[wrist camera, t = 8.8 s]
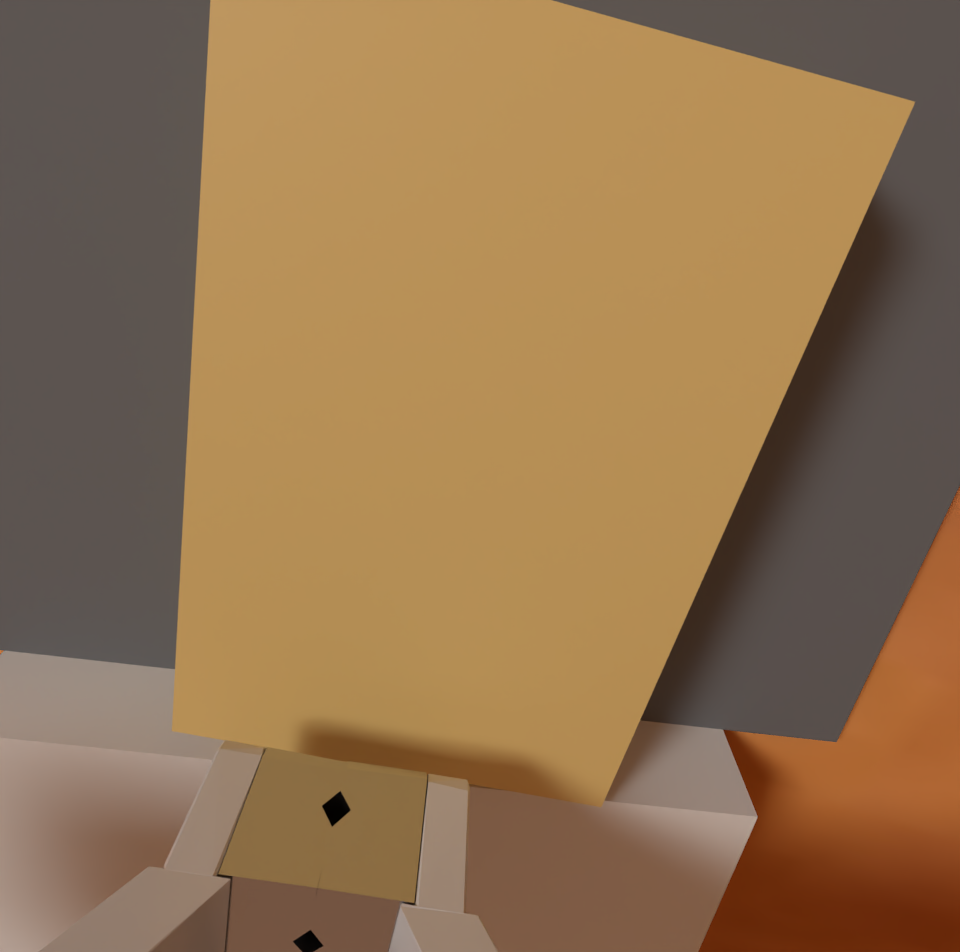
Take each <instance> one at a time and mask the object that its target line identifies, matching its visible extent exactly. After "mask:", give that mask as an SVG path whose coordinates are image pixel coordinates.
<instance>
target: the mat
mask: <svg viewBox="0 0 960 952" xmlns="http://www.w3.org/2000/svg"><path fill="white" fill-rule="evenodd" d="M553 1H556V2H560V3H564V4H567V5H571V6H574V7H578V8H581V9H585V10H589V11H592V12H596V13H599V14H603V15H606V16H610V17H614V18H617V19H621V20H624V21H628V22H632V23H635V24H639V25H642V26H646V27H649V28H653V29H657V30H660V31H664V32H667V33H671V34H674V35H678V36H682V37H685V38H689V39H692V40H696V41H700V42H703V43H707V44H710V45H714V46H717V47H721V48H725V49H728V50H732V51H735V52H739V53H743V54H746V55H750V56H753V57H757V58H760V59H764V60H768V61H771V62H775V63H778V64H782V65H785V66H789V67H793V68H796V69H800V70H803V71H807V72H811V73H814V74H818V75H821V76H825V77H828V78H832V79H836V80H839V81H843V82H846V83H850V84H853V85H857V86H861V87H864V88H868V89H871V90H875V91H879V92H882V93H886V94H889V95H893V96H896V97H900V98H904V99H907V100H911V101H914V102H915V104H914V106H913V108H912V110H911V113H910V115H909V117H908V119H907V122H906V124H905V126H904V128H903V131H902V133H901V135H900V137H899V140H898V142H897V144H896V146H895V149H894V151H893V153H892V155H891V158H890V160H889V162H888V164H887V167H886V169H885V171H884V173H883V176H882V178H881V180H880V182H879V185H878V187H877V189H876V191H875V194H874V196H873V198H872V200H871V203H870V205H869V207H868V209H867V212H866V214H865V216H864V218H863V221H862V223H861V225H860V227H859V230H858V232H857V234H856V236H855V239H854V241H853V243H852V245H851V248H850V250H849V252H848V254H847V256H846V259H845V261H844V263H843V265H842V268H841V270H840V272H839V274H838V277H837V279H836V281H835V283H834V286H833V288H832V290H831V292H830V295H829V297H828V299H827V301H826V304H825V306H824V308H823V310H822V313H821V315H820V317H819V319H818V322H817V324H816V326H815V328H814V331H813V333H812V335H811V337H810V340H809V342H808V344H807V346H806V349H805V351H804V353H803V355H802V358H801V360H800V362H799V364H798V367H797V369H796V371H795V373H794V376H793V378H792V380H791V382H790V385H789V387H788V389H787V391H786V394H785V396H784V398H783V400H782V403H781V405H780V407H779V409H778V412H777V414H776V416H775V418H774V420H773V423H772V425H771V427H770V429H769V432H768V434H767V436H766V438H765V441H764V443H763V445H762V447H761V450H760V452H759V454H758V456H757V459H756V461H755V463H754V465H753V468H752V470H751V472H750V474H749V477H748V479H747V481H746V483H745V486H744V488H743V490H742V492H741V495H740V497H739V499H738V501H737V504H736V506H735V508H734V510H733V513H732V515H731V517H730V519H729V522H728V524H727V526H726V528H725V531H724V533H723V535H722V537H721V540H720V542H719V544H718V546H717V549H716V551H715V553H714V555H713V558H712V560H711V562H710V564H709V567H708V569H707V571H706V573H705V575H704V578H703V580H702V582H701V584H700V587H699V589H698V591H697V593H696V596H695V598H694V600H693V602H692V605H691V607H690V609H689V611H688V614H687V616H686V618H685V620H684V623H683V625H682V627H681V629H680V632H679V634H678V636H677V638H676V641H675V643H674V645H673V647H672V650H671V652H670V654H669V656H668V659H667V661H666V663H665V665H664V668H663V670H662V672H661V674H660V677H659V679H658V681H657V683H656V686H655V688H654V690H653V692H652V695H651V697H650V699H649V701H648V704H647V706H646V708H645V710H644V713H643V715H642V717H641V719H640V720H641V721H650V722H659V723H668V724H677V725H686V726H695V727H704V728H713V729H723V730H732V731H741V732H750V733H759V734H768V735H777V736H786V737H795V738H804V739H813V740H823V741H832V742H837V740H838V738H839V736H840V734H841V731H842V729H843V727H844V725H845V723H846V721H847V719H848V717H849V715H850V713H851V711H852V709H853V707H854V704H855V702H856V700H857V698H858V696H859V694H860V692H861V690H862V688H863V686H864V684H865V682H866V679H867V677H868V675H869V673H870V671H871V669H872V667H873V665H874V663H875V661H876V659H877V657H878V654H879V652H880V650H881V648H882V646H883V644H884V642H885V640H886V638H887V636H888V634H889V632H890V629H891V627H892V625H893V623H894V621H895V619H896V617H897V615H898V613H899V611H900V609H901V607H902V605H903V602H904V600H905V598H906V596H907V594H908V592H909V590H910V588H911V586H912V584H913V582H914V580H915V577H916V575H917V573H918V571H919V569H920V567H921V565H922V563H923V561H924V559H925V557H926V555H927V552H928V550H929V548H930V546H931V544H932V542H933V540H934V538H935V536H936V534H937V532H938V530H939V528H940V525H941V523H942V521H943V519H944V517H945V515H946V513H947V511H948V509H949V507H950V505H951V503H952V500H953V498H954V496H955V494H956V492H957V490H958V488H959V486H960V0H553ZM209 18H210V0H0V650H4V651H13V652H22V653H31V654H40V655H50V656H59V657H68V658H77V659H86V660H95V661H104V662H113V663H122V664H131V665H141V666H150V667H159V668H168V669H175V660H176V641H177V623H178V604H179V585H180V566H181V547H182V528H183V509H184V490H185V471H186V453H187V434H188V415H189V396H190V377H191V358H192V339H193V320H194V301H195V282H196V264H197V245H198V226H199V207H200V188H201V169H202V150H203V131H204V112H205V93H206V75H207V56H208V37H209Z"/></svg>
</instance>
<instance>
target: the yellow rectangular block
mask: <svg viewBox="0 0 960 952" xmlns="http://www.w3.org/2000/svg"><path fill="white" fill-rule="evenodd" d="M914 104H915V102H914V101H911V100H907V99H904V98H900V97H896V96H893V95H889V94H886V93H882V92H879V91H875V90H871V89H868V88H864V87H861V86H857V85H853V84H850V83H846V82H843V81H839V80H836V79H832V78H828V77H825V76H821V75H818V74H814V73H811V72H807V71H803V70H800V69H796V68H793V67H789V66H785V65H782V64H778V63H775V62H771V61H768V60H764V59H760V58H757V57H753V56H750V55H746V54H743V53H739V52H735V51H732V50H728V49H725V48H721V47H717V46H714V45H710V44H707V43H703V42H700V41H696V40H692V39H689V38H685V37H682V36H678V35H674V34H671V33H667V32H664V31H660V30H657V29H653V28H649V27H646V26H642V25H639V24H635V23H632V22H628V21H624V20H621V19H617V18H614V17H610V16H606V15H603V14H599V13H596V12H592V11H589V10H585V9H581V8H578V7H574V6H571V5H567V4H564V3H560V2H556V1H553V0H210V18H209V37H208V56H207V75H206V93H205V112H204V131H203V150H202V169H201V188H200V207H199V226H198V245H197V264H196V282H195V301H194V320H193V339H192V358H191V377H190V396H189V415H188V434H187V453H186V471H185V490H184V509H183V528H182V547H181V566H180V585H179V604H178V623H177V641H176V660H175V679H174V698H173V717H172V731H174V732H180V733H186V734H191V735H197V736H203V737H208V738H214V739H219V740H229V741H235V742H240V743H246V744H251V745H257V746H263V747H270V748H275V749H281V750H286V751H291V752H296V753H302V754H307V755H312V756H317V757H323V758H328V759H333V760H338V761H344V762H348V761H352V762H359V763H366V764H372V765H379V766H386V767H393V768H399V769H406V770H413V771H419V772H426V774H427V775H428V774H434V775H440V776H447V777H453V778H459V779H465V780H467V781H468V783H469V784H473V785H479V786H484V787H490V788H496V789H501V790H507V791H513V792H518V793H524V794H529V795H535V796H541V797H546V798H552V799H558V800H563V801H569V802H575V803H580V804H586V805H591V806H597V807H602V805H603V802H604V800H605V798H606V796H607V793H608V791H609V789H610V787H611V784H612V782H613V780H614V778H615V775H616V773H617V771H618V769H619V766H620V764H621V762H622V760H623V757H624V755H625V753H626V751H627V748H628V746H629V744H630V742H631V739H632V737H633V735H634V733H635V731H636V728H637V726H638V724H639V722H640V719H641V717H642V715H643V713H644V710H645V708H646V706H647V704H648V701H649V699H650V697H651V695H652V692H653V690H654V688H655V686H656V683H657V681H658V679H659V677H660V674H661V672H662V670H663V668H664V665H665V663H666V661H667V659H668V656H669V654H670V652H671V650H672V647H673V645H674V643H675V641H676V638H677V636H678V634H679V632H680V629H681V627H682V625H683V623H684V620H685V618H686V616H687V614H688V611H689V609H690V607H691V605H692V602H693V600H694V598H695V596H696V593H697V591H698V589H699V587H700V584H701V582H702V580H703V578H704V575H705V573H706V571H707V569H708V567H709V564H710V562H711V560H712V558H713V555H714V553H715V551H716V549H717V546H718V544H719V542H720V540H721V537H722V535H723V533H724V531H725V528H726V526H727V524H728V522H729V519H730V517H731V515H732V513H733V510H734V508H735V506H736V504H737V501H738V499H739V497H740V495H741V492H742V490H743V488H744V486H745V483H746V481H747V479H748V477H749V474H750V472H751V470H752V468H753V465H754V463H755V461H756V459H757V456H758V454H759V452H760V450H761V447H762V445H763V443H764V441H765V438H766V436H767V434H768V432H769V429H770V427H771V425H772V423H773V420H774V418H775V416H776V414H777V412H778V409H779V407H780V405H781V403H782V400H783V398H784V396H785V394H786V391H787V389H788V387H789V385H790V382H791V380H792V378H793V376H794V373H795V371H796V369H797V367H798V364H799V362H800V360H801V358H802V355H803V353H804V351H805V349H806V346H807V344H808V342H809V340H810V337H811V335H812V333H813V331H814V328H815V326H816V324H817V322H818V319H819V317H820V315H821V313H822V310H823V308H824V306H825V304H826V301H827V299H828V297H829V295H830V292H831V290H832V288H833V286H834V283H835V281H836V279H837V277H838V274H839V272H840V270H841V268H842V265H843V263H844V261H845V259H846V256H847V254H848V252H849V250H850V248H851V245H852V243H853V241H854V239H855V236H856V234H857V232H858V230H859V227H860V225H861V223H862V221H863V218H864V216H865V214H866V212H867V209H868V207H869V205H870V203H871V200H872V198H873V196H874V194H875V191H876V189H877V187H878V185H879V182H880V180H881V178H882V176H883V173H884V171H885V169H886V167H887V164H888V162H889V160H890V158H891V155H892V153H893V151H894V149H895V146H896V144H897V142H898V140H899V137H900V135H901V133H902V131H903V128H904V126H905V124H906V122H907V119H908V117H909V115H910V113H911V110H912V108H913V106H914Z"/></svg>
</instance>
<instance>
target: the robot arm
mask: <svg viewBox="0 0 960 952" xmlns="http://www.w3.org/2000/svg"><path fill="white" fill-rule="evenodd" d="M469 804H470V786H469V783H468V781H467V780H465V779H459V778H453V777H447V776H440V775H434V774H428V775H427V774H426V772H419V771H413V770H406V769H399V768H393V767H386V766H379V765H372V764H366V763H359V762H352V761H348V762H344V761H338V760H333V759H328V758H323V757H317V756H312V755H307V754H302V753H296V752H291V751H286V750H281V749H275V748H270V747H263V746H257V745H251V744H246V743H240V742H235V741H229V740H225V741H224V742H223V743H222V745H221V746H220V747H219V749H218V750H217V751H216V753H215V755H214V757H213V760H212V762H211V764H210V766H209V768H208V771H207V773H206V775H205V777H204V779H203V781H202V784H201V786H200V788H199V790H198V792H197V794H196V797H195V799H194V801H193V803H192V805H191V807H190V810H189V812H188V814H187V816H186V818H185V820H184V823H183V825H182V827H181V829H180V831H179V834H178V836H177V838H176V840H175V842H174V844H173V847H172V849H171V851H170V853H169V855H168V857H167V860H166V862H165V864H164V866H163V868H158V867H150V866H149V867H147V868H146V869H145V870H143V871H142V872H141V873H140V874H138V875H137V876H136V877H134V878H133V879H132V880H130V881H129V882H128V883H127V884H125V885H124V886H123V887H121V888H120V889H119V890H118V891H116V892H115V893H114V894H112V895H111V896H110V897H108V898H107V899H106V900H105V901H103V902H102V903H101V904H99V905H98V906H97V907H96V908H94V909H93V910H92V911H90V912H89V913H88V914H86V915H85V916H84V917H83V918H81V919H80V920H79V921H77V922H76V923H75V924H74V925H72V926H71V927H70V928H68V929H67V930H66V931H64V932H63V933H62V934H61V935H59V936H58V937H57V938H55V939H54V940H53V941H51V942H50V943H49V944H48V945H46V946H45V947H44V948H42V949H41V950H40V951H39V952H499V951H498V949H497V948H496V946H495V944H494V942H493V940H492V938H491V937H490V935H489V933H488V931H487V929H486V927H485V925H484V924H483V922H482V920H481V918H480V916H479V915H475V914H470V913H466V901H467V869H468V836H469Z"/></svg>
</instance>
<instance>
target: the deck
mask: <svg viewBox="0 0 960 952" xmlns="http://www.w3.org/2000/svg"><path fill="white" fill-rule="evenodd" d="M174 679H175V669H168V668H159V667H150V666H141V665H131V664H122V663H113V662H104V661H95V660H86V659H77V658H68V657H59V656H50V655H40V654H31V653H22V652H13V651H3V652H2V653H1V654H0V952H39V951H40V950H41V949H42V948H44V947H45V946H46V945H48V944H49V943H50V942H51V941H53V940H54V939H55V938H57V937H58V936H59V935H61V934H62V933H63V932H64V931H66V930H67V929H68V928H70V927H71V926H72V925H74V924H75V923H76V922H77V921H79V920H80V919H81V918H83V917H84V916H85V915H86V914H88V913H89V912H90V911H92V910H93V909H94V908H96V907H97V906H98V905H99V904H101V903H102V902H103V901H105V900H106V899H107V898H108V897H110V896H111V895H112V894H114V893H115V892H116V891H118V890H119V889H120V888H121V887H123V886H124V885H125V884H127V883H128V882H129V881H130V880H132V879H133V878H134V877H136V876H137V875H138V874H140V873H141V872H142V871H143V870H145V869H146V868H147V867H149V866H150V867H158V868H163V866H164V864H165V862H166V860H167V857H168V855H169V853H170V851H171V849H172V847H173V844H174V842H175V840H176V838H177V836H178V834H179V831H180V829H181V827H182V825H183V823H184V820H185V818H186V816H187V814H188V812H189V810H190V807H191V805H192V803H193V801H194V799H195V797H196V794H197V792H198V790H199V788H200V786H201V784H202V781H203V779H204V777H205V775H206V773H207V771H208V768H209V766H210V764H211V762H212V760H213V757H214V755H215V753H216V751H217V750H218V749H219V747H220V746H221V745H222V743H223V742H224V741H225V740H219V739H214V738H208V737H203V736H197V735H191V734H186V733H180V732H174V731H172V717H173V698H174ZM469 786H470V804H469V836H468V869H467V901H466V913H470V914H475V915H479V916H480V918H481V920H482V922H483V924H484V925H485V927H486V929H487V931H488V933H489V935H490V937H491V938H492V940H493V942H494V944H495V946H496V948H497V949H498V951H499V952H698V951H699V949H700V947H701V944H702V942H703V940H704V938H705V935H706V933H707V931H708V929H709V926H710V924H711V922H712V920H713V917H714V915H715V913H716V910H717V908H718V906H719V904H720V901H721V899H722V897H723V895H724V892H725V890H726V888H727V886H728V883H729V881H730V879H731V877H732V874H733V872H734V870H735V867H736V865H737V863H738V861H739V858H740V856H741V854H742V852H743V849H744V847H745V845H746V843H747V840H748V838H749V836H750V834H751V831H752V829H753V827H754V824H755V822H756V820H757V818H758V816H757V814H756V811H755V809H754V806H753V804H752V801H751V799H750V796H749V794H748V791H747V789H746V786H745V784H744V781H743V779H742V776H741V774H740V771H739V769H738V766H737V764H736V761H735V759H734V756H733V754H732V751H731V749H730V746H729V744H728V741H727V739H726V736H725V734H724V731H723V729H713V728H704V727H695V726H686V725H677V724H668V723H659V722H650V721H641V720H640V722H639V724H638V726H637V728H636V731H635V733H634V735H633V737H632V739H631V742H630V744H629V746H628V748H627V751H626V753H625V755H624V757H623V760H622V762H621V764H620V766H619V769H618V771H617V773H616V775H615V778H614V780H613V782H612V784H611V787H610V789H609V791H608V793H607V796H606V798H605V800H604V802H603V805H602V807H597V806H591V805H586V804H580V803H575V802H569V801H563V800H558V799H552V798H546V797H541V796H535V795H529V794H524V793H518V792H513V791H507V790H501V789H496V788H490V787H484V786H479V785H473V784H469Z"/></svg>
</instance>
